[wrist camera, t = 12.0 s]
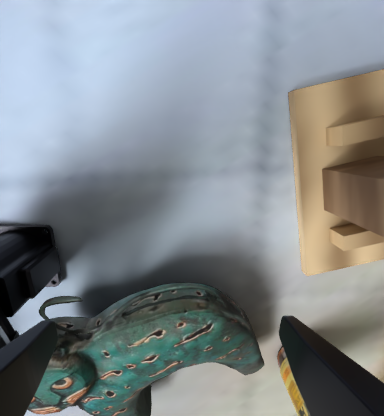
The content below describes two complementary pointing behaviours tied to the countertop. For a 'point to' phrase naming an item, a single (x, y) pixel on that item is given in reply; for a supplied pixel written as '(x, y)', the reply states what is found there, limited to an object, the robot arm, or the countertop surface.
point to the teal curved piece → (141, 348)
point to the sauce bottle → (291, 384)
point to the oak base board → (331, 156)
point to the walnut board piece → (356, 192)
